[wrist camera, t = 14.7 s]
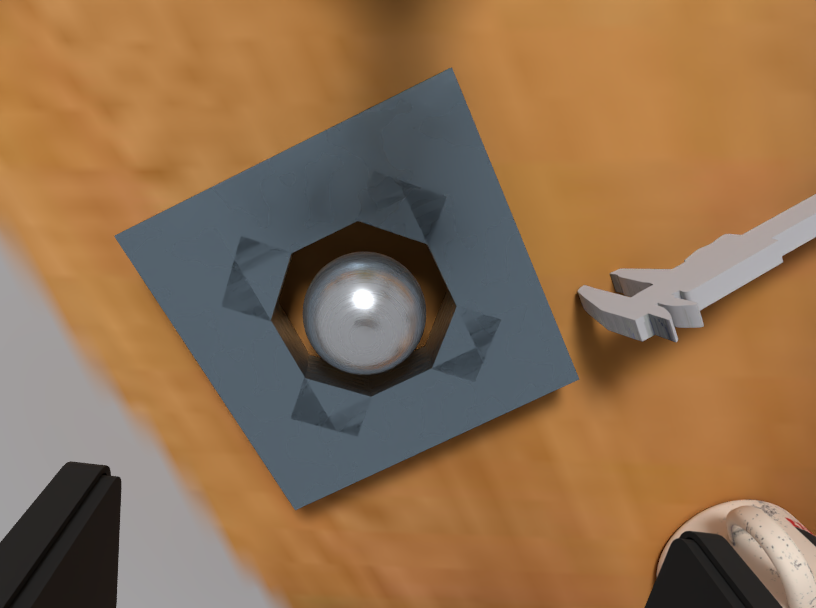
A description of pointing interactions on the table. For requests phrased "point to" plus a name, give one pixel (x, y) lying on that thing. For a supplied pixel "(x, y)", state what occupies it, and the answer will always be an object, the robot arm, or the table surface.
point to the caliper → (697, 278)
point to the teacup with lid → (764, 546)
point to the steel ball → (364, 313)
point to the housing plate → (321, 216)
